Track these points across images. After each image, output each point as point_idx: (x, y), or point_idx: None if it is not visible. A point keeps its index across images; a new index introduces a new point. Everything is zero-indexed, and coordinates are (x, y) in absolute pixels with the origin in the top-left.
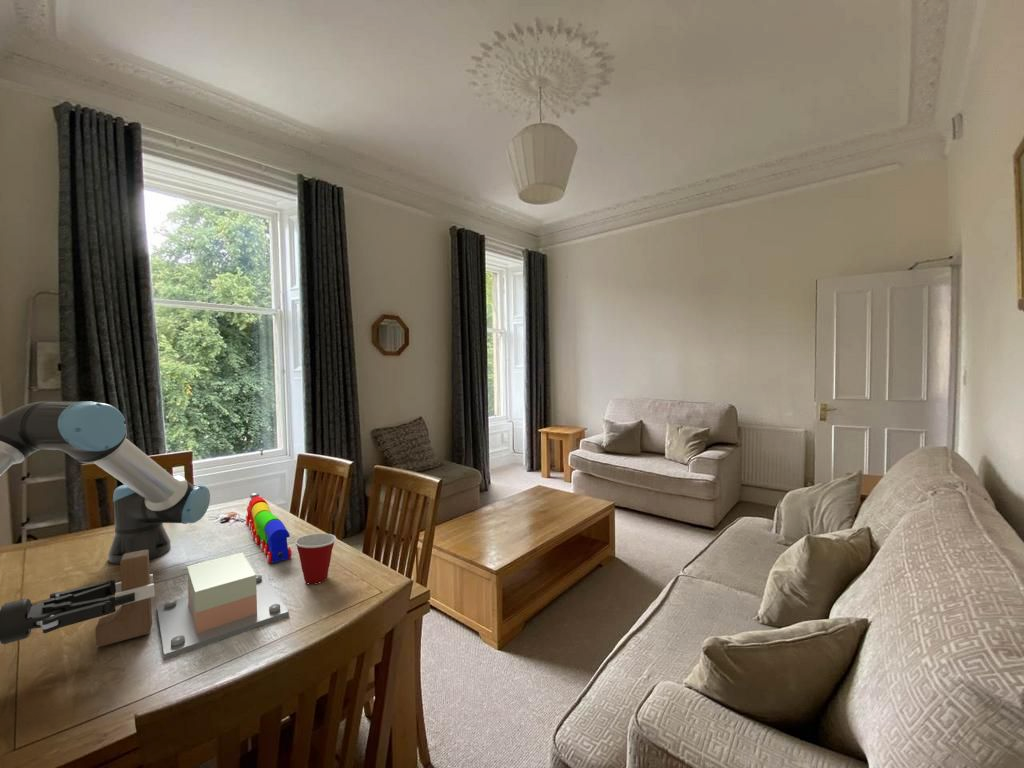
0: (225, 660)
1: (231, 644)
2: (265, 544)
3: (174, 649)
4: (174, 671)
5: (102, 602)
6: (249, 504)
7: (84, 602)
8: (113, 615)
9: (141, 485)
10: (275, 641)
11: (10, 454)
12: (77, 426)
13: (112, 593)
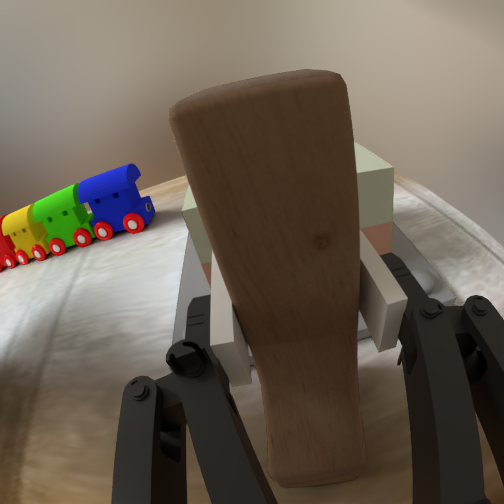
0: (461, 231)
1: (420, 231)
2: (87, 230)
3: (442, 285)
4: (485, 281)
5: (481, 324)
6: None
7: (458, 435)
8: (299, 423)
9: None
10: (421, 197)
11: None
12: None
13: (230, 394)
